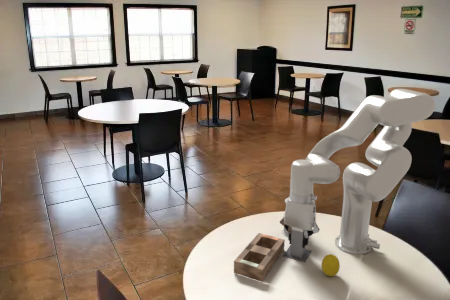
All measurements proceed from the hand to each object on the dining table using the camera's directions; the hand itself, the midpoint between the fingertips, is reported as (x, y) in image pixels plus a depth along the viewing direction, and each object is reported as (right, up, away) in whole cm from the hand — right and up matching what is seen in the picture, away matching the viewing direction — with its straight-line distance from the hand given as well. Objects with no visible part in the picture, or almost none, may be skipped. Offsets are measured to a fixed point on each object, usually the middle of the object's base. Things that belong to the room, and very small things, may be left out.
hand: (298, 243), depth 133 cm
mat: (0, -4, +1) cm, 4 cm away
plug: (0, -4, +1) cm, 4 cm away
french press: (+1, 0, +16) cm, 16 cm away
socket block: (-14, -5, -3) cm, 15 cm away
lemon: (+8, -8, -10) cm, 15 cm away
